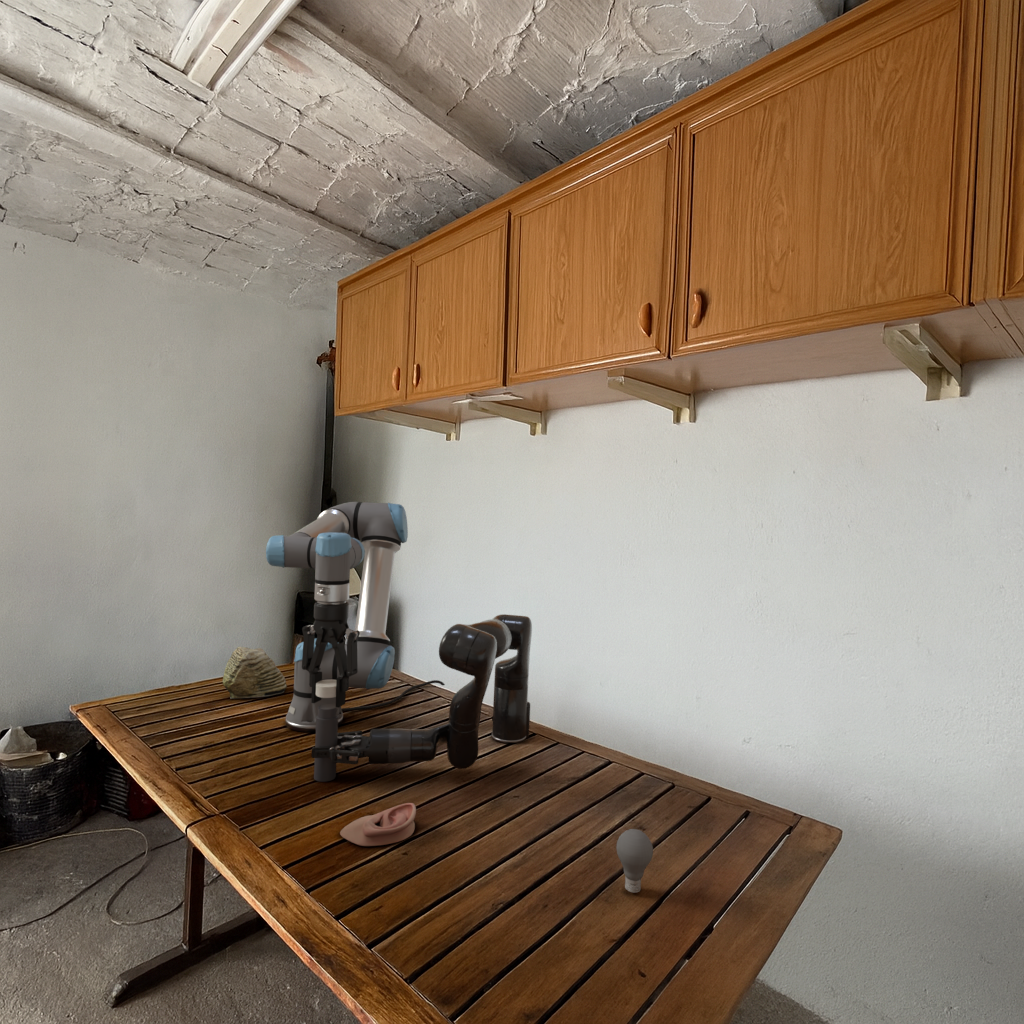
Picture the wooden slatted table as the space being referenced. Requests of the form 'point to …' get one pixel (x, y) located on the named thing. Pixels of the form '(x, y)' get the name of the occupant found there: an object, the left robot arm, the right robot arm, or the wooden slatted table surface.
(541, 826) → the wooden slatted table surface
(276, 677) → the fossil
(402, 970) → the wooden slatted table surface
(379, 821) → the anatomical model
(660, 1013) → the wooden slatted table surface
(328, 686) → the lid
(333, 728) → the gray bottle
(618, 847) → the light bulb
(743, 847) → the wooden slatted table surface
